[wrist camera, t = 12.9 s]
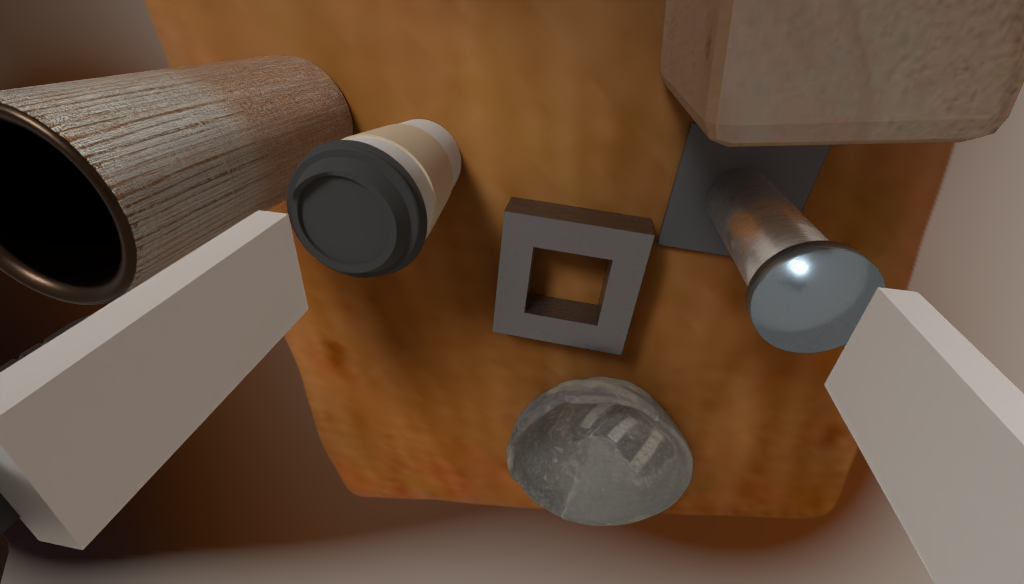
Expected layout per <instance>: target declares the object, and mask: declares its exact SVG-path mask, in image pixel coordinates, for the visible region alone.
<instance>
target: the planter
mask: <svg viewBox="0 0 1024 584" xmlns="http://www.w3.org/2000/svg"><path fill="white" fill-rule="evenodd" d="M352 135H353V125H352V118H351V114H350V110H349V107H348V105H347V102H346V100H345V98H344V96H343V94H342V93H341V91H340V89H339V88H338V87H337V85H336V84H335V83H334V81H333V80H332V79H331V78H330V77H329V76H328V75H327V74H326V73H325V72H324V71H323V70H321V69H320V68H319V67H317V66H316V65H314V64H313V63H311V62H309V61H307V60H305V59H302V58H299V57H296V56H291V55H268V56H260V57H252V58H245V59H237V60H230V61H222V62H215V63H207V64H199V65H192V66H184V67H177V68H169V69H161V70H154V71H147V72H139V73H132V74H124V75H116V76H108V77H101V78H93V79H86V80H78V81H71V82H63V83H55V84H48V85H40V86H33V87H25V88H18V89H10V90H3V91H0V269H1V270H2V271H4V272H5V273H6V274H8V275H9V276H11V277H12V278H14V279H15V280H17V281H18V282H20V283H22V284H24V285H25V286H27V287H29V288H32V289H33V290H35V291H37V292H39V293H42V294H44V295H46V296H49V297H52V298H55V299H58V300H61V301H65V302H70V303H76V304H86V305H88V304H102V303H107V302H110V301H113V300H115V299H117V298H119V297H121V296H123V295H124V294H126V293H127V292H129V291H131V290H132V289H134V288H135V287H137V286H139V285H140V284H142V283H143V282H145V281H147V280H148V279H150V278H151V277H153V276H154V275H156V274H158V273H159V272H161V271H162V270H164V269H166V268H167V267H169V266H170V265H172V264H174V263H175V262H177V261H178V260H180V259H182V258H183V257H185V256H186V255H188V254H190V253H191V252H193V251H194V250H196V249H197V248H199V247H201V246H202V245H204V244H205V243H207V242H209V241H210V240H212V239H213V238H215V237H217V236H218V235H220V234H221V233H223V232H225V231H226V230H228V229H229V228H231V227H232V226H234V225H236V224H237V223H239V222H240V221H242V220H244V219H245V218H247V217H248V216H250V215H252V214H253V213H255V212H256V211H258V210H260V211H267V210H269V209H271V208H272V207H274V206H276V205H277V204H279V203H281V202H282V201H284V200H286V199H287V190H288V185H289V182H290V179H291V177H292V175H293V173H294V171H295V170H296V168H297V167H298V165H299V163H300V162H301V160H302V159H303V158H304V156H305V155H306V154H307V153H308V152H310V151H311V150H312V149H314V148H315V147H317V146H319V145H321V144H323V143H326V142H329V141H334V140H341V139H343V138H345V137H348V136H352Z"/></svg>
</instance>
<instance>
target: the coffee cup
mask: <svg viewBox="0 0 1024 584" xmlns="http://www.w3.org/2000/svg"><path fill="white" fill-rule="evenodd" d="M460 171H461V155H460V151H459V148H458V146H457V144H456V142H455V140H454V139H453V137H452V136H451V135H450V133H449V132H448V131H447V130H445V129H444V128H443V127H442V126H440V125H438V124H436V123H434V122H432V121H429V120H424V119H414V120H409V121H406V122H403V123H399V124H392V125H388V126H384V127H381V128H377V129H373V130H370V131H366V132H363V133H359V134H355V135H352V136H348V137H345V138H343V139H341V140H334V141H329V142H326V143H323V144H321V145H319V146H317V147H315V148H314V149H312V150H311V151H310V152H308V153H307V154H306V155H305V156H304V158H303V159H302V160H301V162H300V163H299V165H298V167H297V168H296V170H295V171H294V173H293V175H292V177H291V179H290V182H289V185H288V190H287V209H288V215H289V218H290V222H291V224H292V227H293V229H294V231H295V233H296V235H297V237H298V239H299V240H300V241H301V243H302V244H303V246H304V247H305V248H306V249H307V250H308V251H309V252H310V253H311V254H312V255H313V256H314V257H315V258H316V259H317V260H319V261H320V262H321V263H323V264H324V265H326V266H327V267H329V268H331V269H333V270H335V271H337V272H340V273H343V274H346V275H349V276H354V277H363V278H370V277H378V276H382V275H386V274H389V273H393V272H395V271H398V270H400V269H402V268H404V267H405V266H407V265H408V264H409V263H411V262H412V261H413V260H414V259H415V258H416V256H417V255H418V254H419V252H420V250H421V249H422V247H423V244H424V242H425V239H426V238H427V237H428V235H429V234H430V232H431V230H432V228H433V227H434V225H435V223H436V221H437V219H438V217H439V215H440V214H441V212H442V210H443V208H444V206H445V204H446V203H447V201H448V199H449V197H450V194H451V191H452V189H453V187H454V185H455V183H456V182H457V180H458V178H459V175H460Z"/></svg>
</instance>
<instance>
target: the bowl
mask: <svg viewBox="0 0 1024 584" xmlns="http://www.w3.org/2000/svg"><path fill="white" fill-rule="evenodd" d="M506 454H507V466H508V470H509V473H510V475H511V477H512V478H513V479H514V480H515V481H516V482H517V483H518V484H520V485H521V487H522V488H523V489H524V491H525V492H526V493H527V495H528V496H529V497H530V498H531V499H532V500H533V501H535V502H536V503H537V504H539V505H540V506H542V507H544V508H545V509H547V510H549V511H550V512H551V513H553V514H555V515H557V516H560V517H561V518H562V519H564V520H567V521H571V522H575V523H579V524H585V525H592V526H612V525H623V524H629V523H634V522H638V521H641V520H644V519H646V518H648V517H651V516H654V515H656V514H658V513H660V512H662V511H664V510H666V509H668V508H669V507H670V506H671V505H673V504H674V503H675V502H676V501H677V500H678V499H679V498H680V497H681V496H682V495H683V493H684V492H685V490H686V489H687V487H688V485H689V484H690V481H691V478H692V474H693V465H694V463H693V456H692V452H691V450H690V448H689V445H688V443H687V442H686V440H685V438H684V437H683V435H682V433H681V432H680V430H679V429H678V427H677V426H676V424H675V423H674V422H673V420H672V419H671V418H670V416H669V415H668V414H667V412H666V411H665V410H664V409H663V408H662V407H661V406H660V404H659V403H658V402H657V401H656V400H655V399H654V398H652V397H651V395H650V394H649V393H647V392H646V391H644V390H643V389H641V388H639V387H638V386H636V385H635V384H633V383H631V382H629V381H626V380H623V379H614V378H610V377H603V376H601V377H591V378H588V379H574V380H569V381H565V382H563V383H560V384H558V385H557V386H555V387H554V388H552V389H550V390H548V391H546V392H544V393H542V394H541V395H539V396H538V397H536V398H535V399H534V400H532V401H531V402H530V403H529V404H528V406H527V407H526V408H525V410H524V411H523V412H522V413H521V414H520V416H519V417H518V419H517V421H516V424H515V426H514V429H513V431H512V434H511V438H510V440H509V443H508V446H507V449H506Z"/></svg>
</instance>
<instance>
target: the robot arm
mask: <svg viewBox="0 0 1024 584" xmlns="http://www.w3.org/2000/svg"><path fill="white" fill-rule="evenodd" d="M307 310H308V305H307V300H306V295H305V291H304V286H303V281H302V276H301V272H300V267H299V262H298V258H297V253H296V248H295V244H294V239H293V234H292V230H291V225H290V220H289V216H288V214H284V213H276V212H268V211H260V210H258V211H256V212H255V213H253V214H252V215H250V216H248V217H247V218H245V219H244V220H242V221H240V222H239V223H237V224H236V225H234V226H232V227H231V228H229V229H228V230H226V231H225V232H223V233H221V234H220V235H218V236H217V237H215V238H213V239H212V240H210V241H209V242H207V243H205V244H204V245H202V246H201V247H199V248H197V249H196V250H194V251H193V252H191V253H190V254H188V255H186V256H185V257H183V258H182V259H180V260H178V261H177V262H175V263H174V264H172V265H170V266H169V267H167V268H166V269H164V270H162V271H161V272H159V273H158V274H156V275H154V276H153V277H151V278H150V279H148V280H147V281H145V282H143V283H142V284H140V285H139V286H137V287H135V288H134V289H132V290H131V291H129V292H127V293H126V294H124V295H123V296H121V297H119V298H118V299H116V300H115V301H113V302H112V303H110V304H108V305H107V306H105V307H104V308H102V309H100V310H99V311H97V312H96V313H94V314H91V315H89V316H86V317H84V318H82V319H79V320H76V321H74V322H72V323H70V324H69V325H67V326H66V327H64V328H62V329H61V330H59V331H58V332H56V333H54V334H53V335H51V336H50V337H48V338H46V339H45V340H44V343H43V344H37V345H35V346H33V347H32V348H30V349H29V350H27V351H25V352H24V353H22V354H20V355H19V356H20V357H19V359H18V360H15V359H12V360H11V361H9V362H8V363H6V364H4V365H3V366H1V367H0V582H1V579H2V575H3V571H4V567H5V563H6V560H7V556H8V553H9V551H8V540H7V539H6V538H5V537H4V535H3V534H2V533H3V532H4V531H5V530H6V529H7V528H8V527H9V526H11V525H12V524H13V523H14V522H15V521H16V520H17V519H18V518H20V519H21V520H22V521H23V522H24V524H25V525H26V526H27V527H28V528H29V529H30V531H32V533H33V534H34V535H35V536H36V538H37V539H38V540H40V541H44V542H48V543H53V544H58V545H63V546H67V547H72V548H76V549H81V550H83V549H84V548H85V547H86V546H87V545H88V544H89V543H90V542H91V541H92V540H93V539H94V537H95V536H96V535H97V534H98V533H99V532H100V531H101V530H102V529H103V528H104V527H105V526H106V525H107V524H108V523H109V521H110V520H111V519H112V518H113V517H114V516H115V515H116V514H117V513H118V512H119V511H120V510H121V509H122V507H124V505H125V504H126V503H127V502H128V501H129V500H130V499H131V498H132V497H133V496H134V495H135V494H136V492H137V491H139V489H140V488H141V487H142V486H143V485H144V484H145V483H146V482H147V481H148V480H149V478H151V477H152V476H153V475H154V473H155V472H156V471H157V470H158V469H159V468H160V467H161V466H162V465H163V464H164V463H165V462H166V461H167V460H168V458H169V457H170V456H171V455H172V454H173V453H174V452H175V451H176V450H177V449H178V448H179V447H180V446H181V445H182V444H183V442H184V441H185V440H186V439H187V438H188V437H189V436H190V435H191V434H192V433H193V432H194V431H195V430H196V429H197V427H198V426H199V425H200V424H201V423H202V422H203V421H204V420H205V419H206V418H207V417H208V416H209V415H210V414H211V413H212V411H214V409H215V408H216V407H217V406H218V405H219V404H220V403H221V402H222V401H223V400H224V399H225V398H226V397H227V396H228V394H229V393H230V392H231V391H232V390H233V389H234V388H235V387H236V386H237V385H238V384H239V383H240V382H241V380H242V379H244V377H245V376H246V375H247V374H248V373H249V372H250V371H251V370H252V369H253V368H254V367H255V366H256V365H257V363H259V361H260V360H261V359H262V358H263V357H264V356H265V355H266V354H267V353H268V352H269V351H270V350H271V349H272V347H273V346H274V345H275V344H276V343H277V342H278V341H279V340H280V339H281V338H282V337H283V336H284V335H285V334H286V333H287V332H288V330H289V329H290V328H291V327H292V326H293V325H294V324H295V323H296V322H297V321H298V320H299V319H300V318H301V317H302V316H303V314H304V313H305V312H306V311H307ZM824 386H825V387H826V389H827V391H828V393H829V395H830V396H831V398H832V400H833V402H834V404H835V405H836V407H837V409H838V411H839V413H840V414H841V416H842V418H843V420H844V422H845V423H846V425H847V427H848V429H849V431H850V432H851V434H852V436H853V438H854V440H855V441H856V443H857V445H858V447H859V449H860V450H861V452H862V454H863V456H864V458H865V459H866V461H867V463H868V464H869V467H870V468H871V470H872V472H873V474H874V475H875V477H876V479H877V481H878V482H879V485H880V486H881V488H882V490H883V492H884V493H885V495H886V497H887V499H888V501H889V502H890V504H891V506H892V508H893V510H894V512H895V513H896V515H897V517H898V518H899V520H900V522H901V524H902V526H903V528H904V529H905V531H906V533H907V535H908V536H909V539H910V540H911V542H912V544H913V546H914V547H915V549H916V551H917V553H918V555H919V556H920V558H921V560H922V562H923V564H924V565H925V567H926V569H927V571H928V573H929V575H930V576H931V578H932V580H933V582H934V583H935V584H1024V394H1023V393H1022V392H1021V391H1020V390H1019V389H1018V388H1017V387H1016V386H1015V385H1014V384H1013V383H1012V382H1011V381H1010V380H1008V379H1007V377H1005V376H1004V375H1003V374H1002V373H1001V372H1000V371H999V370H998V369H997V368H996V367H995V366H994V365H993V364H992V363H991V362H990V361H989V360H988V359H986V358H985V356H983V354H981V353H980V352H979V351H978V350H977V349H976V348H975V347H974V346H973V345H972V344H971V343H970V342H969V341H968V340H967V339H966V338H965V337H964V336H963V335H962V334H961V333H960V332H959V331H958V330H957V329H956V328H955V327H953V326H952V325H951V324H950V323H949V322H948V321H947V320H946V319H945V318H944V317H943V316H942V315H941V314H940V313H939V312H938V311H937V310H936V309H935V308H934V307H933V306H932V305H931V304H930V303H929V302H928V301H927V300H925V299H924V298H923V297H922V296H921V295H920V294H919V293H918V292H913V291H905V290H897V289H889V288H881V287H878V288H877V290H876V292H875V293H874V295H873V297H872V299H871V301H870V303H869V304H868V306H867V308H866V310H865V312H864V313H863V315H862V317H861V319H860V321H859V322H858V324H857V326H856V328H855V330H854V332H853V333H852V335H851V337H850V339H849V341H848V342H847V344H846V346H845V348H844V350H843V351H842V353H841V355H840V357H839V359H838V361H837V362H836V364H835V366H834V368H833V370H832V371H831V373H830V375H829V377H828V379H827V380H826V382H825V384H824Z"/></svg>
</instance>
